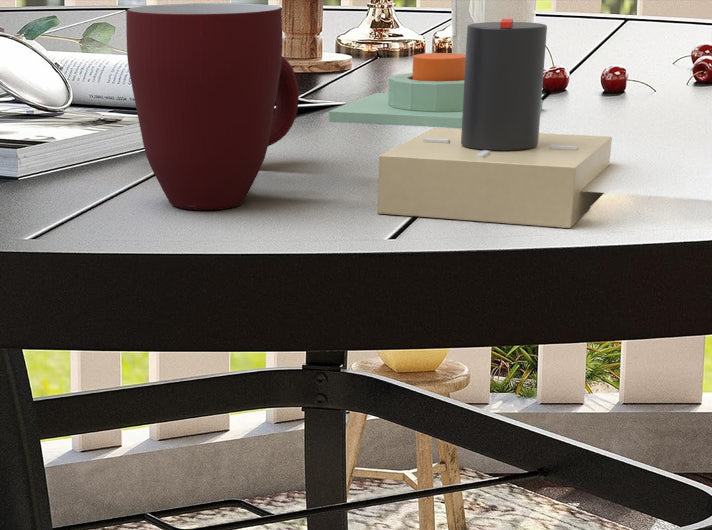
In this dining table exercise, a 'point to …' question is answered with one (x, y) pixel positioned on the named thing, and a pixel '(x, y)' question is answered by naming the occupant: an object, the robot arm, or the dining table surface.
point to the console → (492, 179)
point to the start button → (439, 67)
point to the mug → (209, 96)
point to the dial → (503, 85)
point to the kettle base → (408, 104)
